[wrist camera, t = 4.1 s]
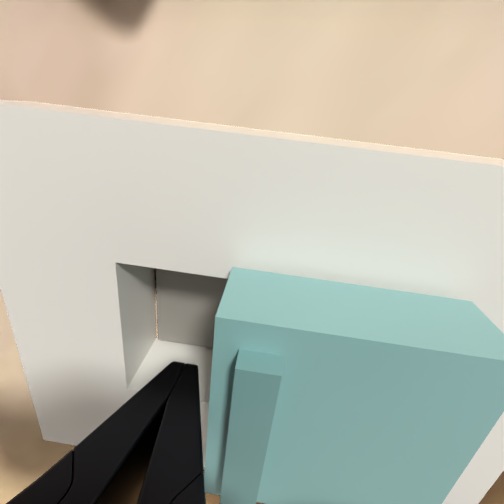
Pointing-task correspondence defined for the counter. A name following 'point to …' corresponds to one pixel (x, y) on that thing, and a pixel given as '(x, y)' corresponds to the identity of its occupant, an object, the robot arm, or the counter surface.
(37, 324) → the socket plate
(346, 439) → the block
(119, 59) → the counter surface
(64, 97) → the counter surface
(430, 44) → the counter surface
